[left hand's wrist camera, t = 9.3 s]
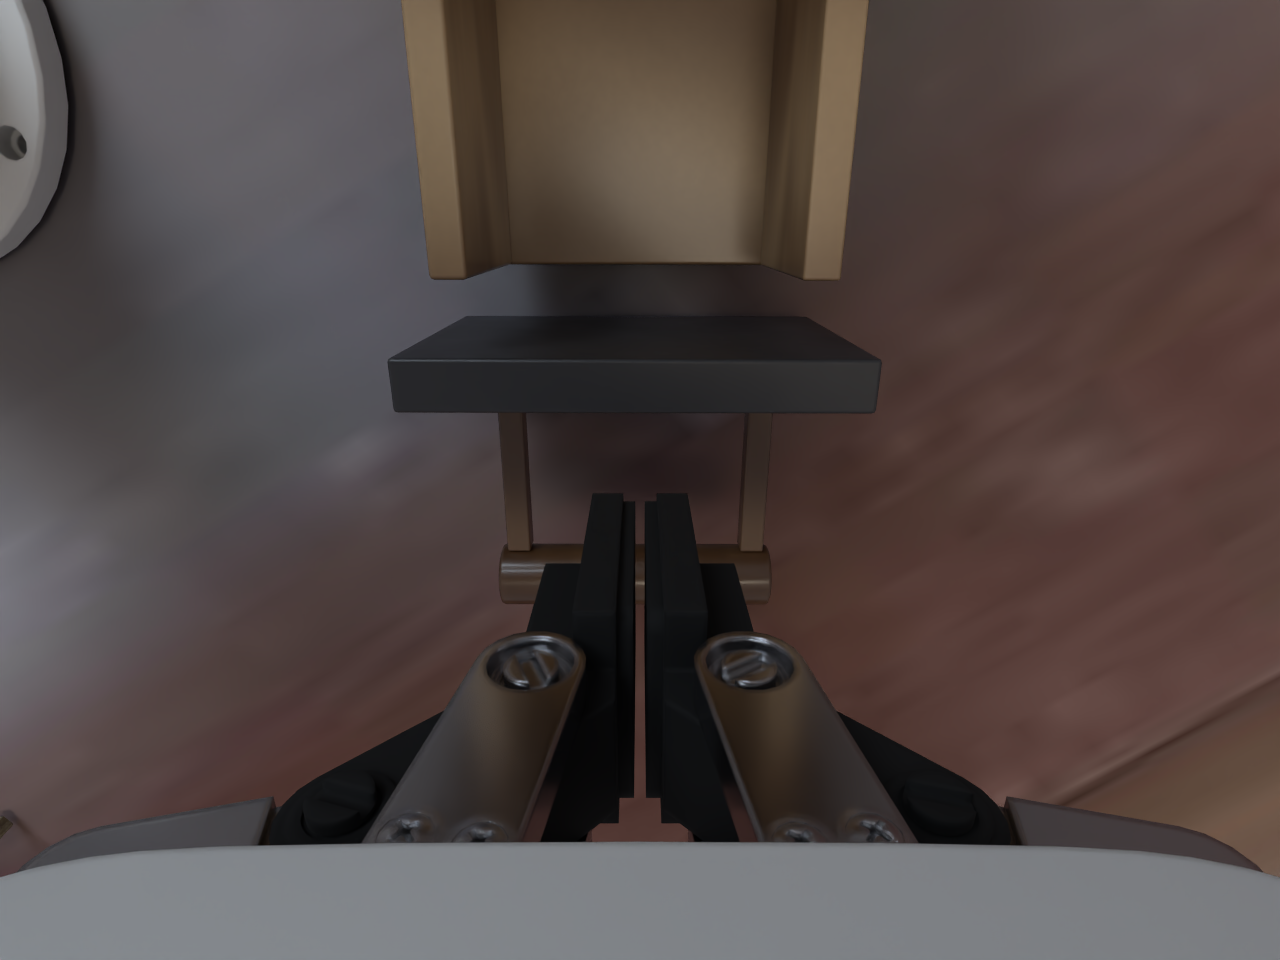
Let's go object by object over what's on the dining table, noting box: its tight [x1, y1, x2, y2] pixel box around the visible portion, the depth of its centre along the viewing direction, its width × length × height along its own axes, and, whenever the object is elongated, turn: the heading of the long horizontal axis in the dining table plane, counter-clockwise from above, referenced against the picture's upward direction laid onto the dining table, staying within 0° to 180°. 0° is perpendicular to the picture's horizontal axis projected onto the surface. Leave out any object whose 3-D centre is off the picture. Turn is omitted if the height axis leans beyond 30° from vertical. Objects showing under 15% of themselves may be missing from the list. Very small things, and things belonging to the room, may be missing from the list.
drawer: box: [388, 0, 882, 605], centre depth 16 cm, size 22×11×7 cm, turn 0°
